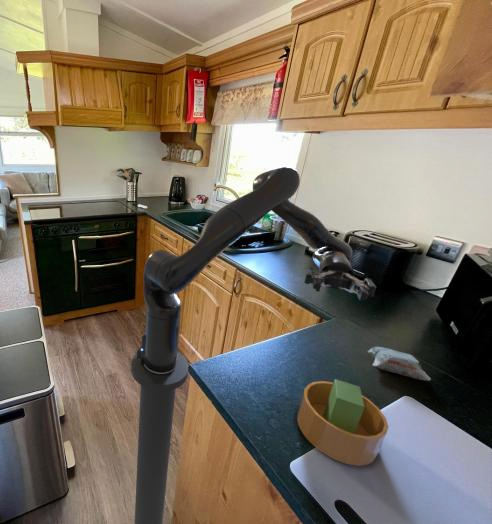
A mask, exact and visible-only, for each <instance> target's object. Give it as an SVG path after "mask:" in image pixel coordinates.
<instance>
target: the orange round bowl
mask: <svg viewBox="0 0 492 524" xmlns="http://www.w3.org/2000/svg"><path fill="white" fill-rule="evenodd" d="M333 383H334V382H332V381H325V380H320V381H313V382H311V383H309V384H307V385H306V387H305V388H304V390H303V393H302V397H301V400H300V403H299V407H298V411H297V416H296V420H297V425H298V427H299V430H300V431H301V433H302V435H303V436H304V437H305V439H306V440H307V441H308V442H309V443H310V444H311V445H312V446H313V447H315V448H316V449H317V450H318V451H320V452H321V453H323V455H326V456H327V457H329V458H331V459H333V460H335V461H336V462H340V463H342V464H346V465H349V466H357V467H358V466H359V467H361V466H367V465H370V464H371V463H372V462H374V460H375V459H377V456H378V454H379V451H380V450H381V446H382V445H383V442H384V440H385V438H386V436H387V433H388V429H389V424H388V421H387V418H386V416H385V415H384V413H383V412H382V410H381V409H380V408H379V407H378V406H377V405H376V404H375V403H374V402H373V401H372V400H370V399H369V398H367V397H366V396H365V395H363V394H362V398H363V403H364V410H363V412H362V415H361V417H360V420H359V422H358V425H357V427H356V430H355V433H354V434H352V433H350V432H347V431H344V430H342V429H340V428H338V427H336V426H334V425H333V424H331V423H329V422H328V421H326V420H325V419H324V418H323V413H324V410H325V407H326V404H327V401H328V398H329V395H330V392H331V389H332V386H333Z"/></svg>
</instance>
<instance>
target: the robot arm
mask: <svg viewBox="0 0 492 524" xmlns="http://www.w3.org/2000/svg"><path fill="white" fill-rule="evenodd" d="M300 182H301V178H300V174H299V173H298V171H297V170H296V169H295V168H294V167H291V166H286V165H285V166H278V167H274V168H273V169H269V170H267V171H264V172H262V173H260V174H259V175H257V176H256V177H255V178H254V179H253V182H252V191H250V192H248V193H246V194H244V195H242V196H240V197H238V198H236V199H234V200H232V201H231V202H229V203H226V204H225V205H224V206H222V207H221V208H220V209H219V210H217V211H216V212H214V213H213V214H212V215H211V216H209V218H208V219H207V220H206V221H205V222H204V224H203V226H202V229H201V232H200V235H199V238H198V240H197V241H196V243H195V244H194V245H193V246H192V247H190V248H189V249H188V250H186V252H184V253H182V254H181V255H179V256H178V255H176V254H175V253H172V252H170V251H167V250H165V249H158V250H155V251H153V252H152V253H151V254H150V255H149V256H148V257H147V259H146V261H145V264H144V268H143V298H144V299H143V300H144V303H145V307H146V308H145V329H144V333H143V334H142V336H141V344H140V346H139V347H138V348H137V350H136V353H137V358H139V359H141V365H143V366H144V367H145V369H146V370H147V371H149V372H150V373H152V374H155V375H167V374H170V373H172V372H173V371H174V370H175V369H176V362H177V356H178V354H177V352H178V349H179V339H180V338H179V337H180V327H181V318H182V302H181V300H180V298H179V297H178V295H177V294H178V293H181V292H182V291H183V290H185V289H186V288H188V287H189V285H191V284H192V282H194V280H195V279H197V277H198V276H199V275H200V274H201V273H202V272H203V271H204V270H205V269H206V268H207V267H208V266H209V265H210V264H211V263H212V262H213V261H214V260H215V259H216V258H217V257H218V256H220V255H221V254H222V253H223V252H224V251H226V249H228V248H229V247H230V246H232V245H233V244H234V243H236V242H237V240H239V239H240V238H242V236H244V235H245V234H246V233H247V232H248V231H249V230H250V229H251V228H253V227H254V226H255V225H256V224H257V223H259V221H261V220H262V219H263V218H264V217H265V216H266V215H267V214H269V213H270V212H272V213H273V214H275V215H276V216H277V217H278V218H280V219H281V220H282V221H284V223H286V224H287V225H288V226H290V228H291V229H293V231H294V232H295V233H296V234H297V235H298V236H299V237H300V238H301V240H303V242H304V243H305V244H306V245H307V246H308V248H310V249H312V250H315V251H314V252H313V254H312V260H313V262H314V264H315V265H316V266H317V267H318V272H316V270H314V269H313V268H312V267H307V270H306V274H305V278H304V284H306V285H310V284H312V289H314V290H315V292H318V293H319V292H320V291H321V287H322V288H325V287H327V288H329V289H333V290H334V289H335V290H344V291H346V292H348V293H350V294H356V295H357V298H358V301H361V302H364V301H365V300H367V299H368V297H369V298H373V297H374V295H375V291H376V289H377V285H376V284H375V283H374V281H373V280H372V279H371V278H364V279H363V280H360V279H358V278H357V277H356V276H355V272H354V270H353V267H352V265H351V262H350V261H349V260H350V259H351V258H352V256H353V249H352V247H351V246H350V245H349V244H348V243H347V242H346V241H344V240H342V239H341V238H339V237H337V236H335V235H334V234H333V233H332V232H330V231H329V229H327V227H326V226H325V224H324V223H322V221H321V220H320V219H319V218H318V217H317V216H316V215H314V214H313V213H311V212H309V211H307V210H306V209H304V208H301V207H300V206H298V205H296V204H295V203H293V202H292V201H290V200H289V199H291V198H292V197H294V195H295V194H296V193H297V191H298V189H299V187H300Z"/></svg>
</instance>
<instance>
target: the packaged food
mask: <svg viewBox="0 0 492 524" xmlns="http://www.w3.org/2000/svg"><path fill="white" fill-rule="evenodd" d="M367 353H368V354H370V355H371V357H372V358H373V359H374V360H373V363H372V365H371V366H372V367H374V368H378V369H379V370H381V371H386V372H390V373H394V374H397V375H400V376H403V377H407V378H411V379H415V380H421V381H426V382H430V381H431V380H432V378H431V377H430V376H429V375H428V374H427V373H426V371H424V370H423V368H422V366H421V363H420V362H419V360H418V359H417V358H416V357H414V355H412V354H409V353H405V352H402V351H397V350H395V349H391V348H387V347H383V346H373V347H371V348H369V349H368V350H367Z"/></svg>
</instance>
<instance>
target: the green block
mask: <svg viewBox="0 0 492 524" xmlns="http://www.w3.org/2000/svg"><path fill="white" fill-rule="evenodd" d="M332 383H333V386H332V389H331V392H330V395H329V398H328V401H327V404H326V407H325V410H324V413H323V418H324V419H325V420H326V421H328V422H329V423H331V424H333V425H334V426H336V427H338V428H340V429H342V430H344V431H347V432H350V433H352V434H354V433H355V430H356V427H357V425H358V422H359V420H360V417H361V415H362V412H363V410H364V403H363V398H362V395H363V393H362V390H361V386H360V385H359V386H358V385H355V384H353V383H349V382H346V381H343V380H339V379H337V378H335V379H334V381H333V382H332Z"/></svg>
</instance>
